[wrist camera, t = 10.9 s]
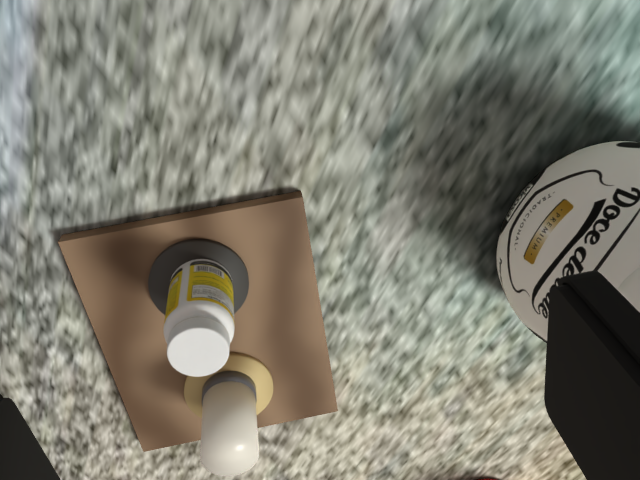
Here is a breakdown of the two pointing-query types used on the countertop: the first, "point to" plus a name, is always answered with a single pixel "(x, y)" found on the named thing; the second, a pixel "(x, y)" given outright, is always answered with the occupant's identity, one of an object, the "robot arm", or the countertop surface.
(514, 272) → the milk container
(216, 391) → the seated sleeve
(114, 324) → the pin board
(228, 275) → the supplement bottle
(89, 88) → the countertop surface
